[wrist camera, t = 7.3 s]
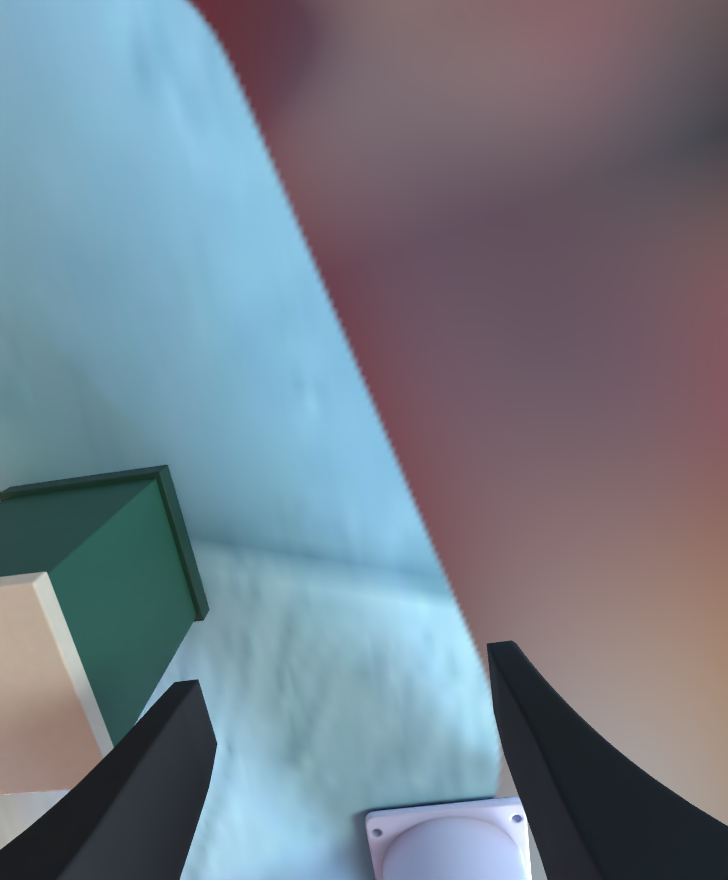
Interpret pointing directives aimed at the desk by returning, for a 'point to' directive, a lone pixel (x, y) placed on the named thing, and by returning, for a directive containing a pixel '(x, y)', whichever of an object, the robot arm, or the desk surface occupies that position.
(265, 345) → the desk surface
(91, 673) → the green and cream block
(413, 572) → the desk surface
